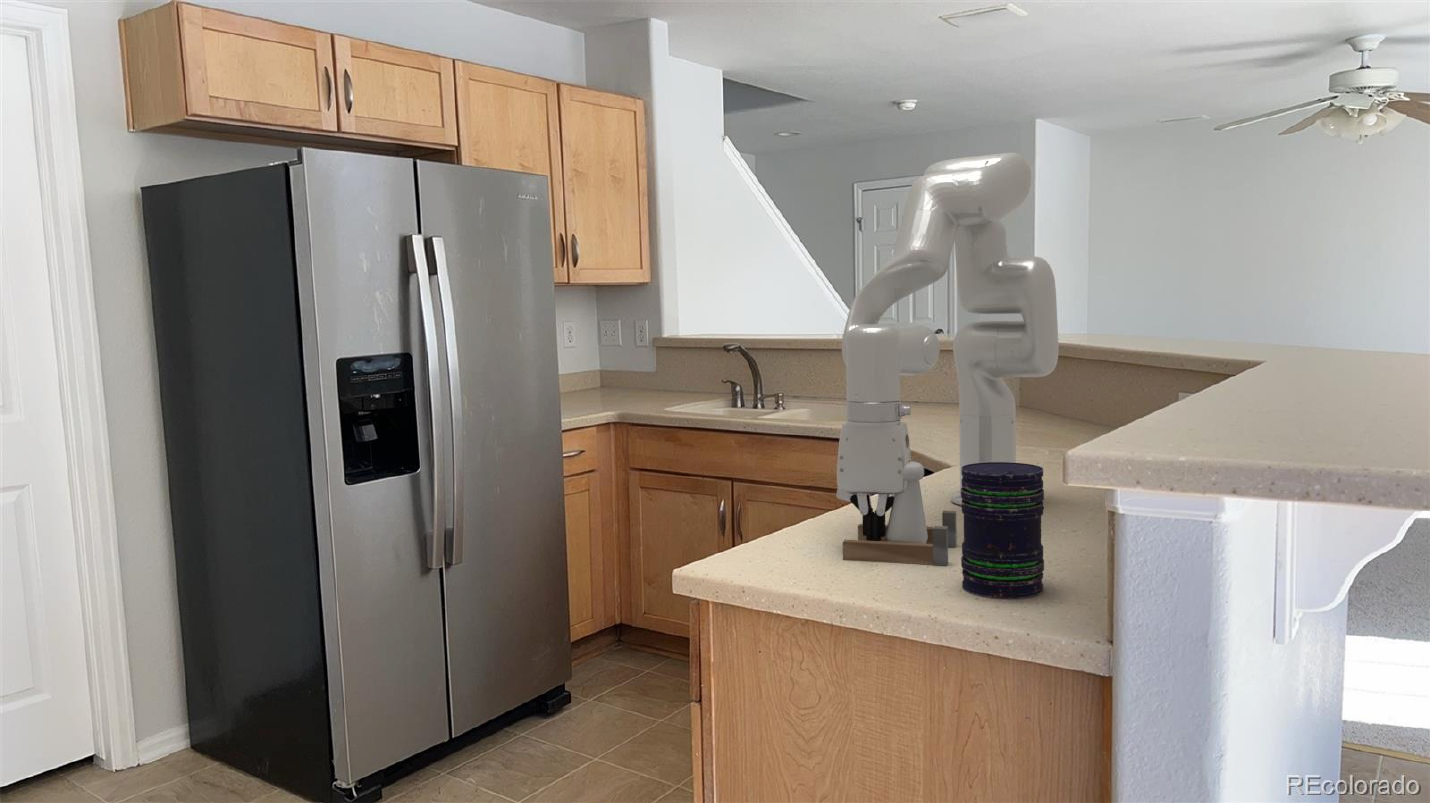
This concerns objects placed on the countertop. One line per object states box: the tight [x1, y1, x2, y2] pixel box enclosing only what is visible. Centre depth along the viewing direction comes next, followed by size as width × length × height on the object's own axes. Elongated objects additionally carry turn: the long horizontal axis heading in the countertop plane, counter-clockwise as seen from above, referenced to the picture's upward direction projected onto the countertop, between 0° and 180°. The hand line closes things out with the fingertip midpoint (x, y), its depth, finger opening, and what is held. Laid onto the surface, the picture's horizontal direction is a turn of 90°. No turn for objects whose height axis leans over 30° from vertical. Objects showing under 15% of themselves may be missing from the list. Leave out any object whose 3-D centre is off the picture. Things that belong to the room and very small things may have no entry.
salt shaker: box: [886, 460, 928, 544], centre depth 142 cm, size 6×6×13 cm
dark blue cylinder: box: [960, 462, 1045, 600], centre depth 124 cm, size 10×10×15 cm
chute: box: [842, 510, 958, 567], centre depth 143 cm, size 12×14×5 cm
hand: (874, 540), depth 144 cm, fingers closed
